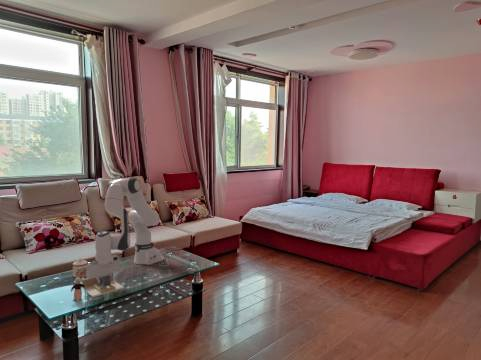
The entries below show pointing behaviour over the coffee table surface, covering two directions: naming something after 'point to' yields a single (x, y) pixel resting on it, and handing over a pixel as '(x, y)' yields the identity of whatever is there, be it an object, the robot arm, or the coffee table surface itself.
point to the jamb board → (99, 287)
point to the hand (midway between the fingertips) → (103, 281)
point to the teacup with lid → (79, 268)
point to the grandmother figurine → (77, 289)
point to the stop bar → (105, 280)
